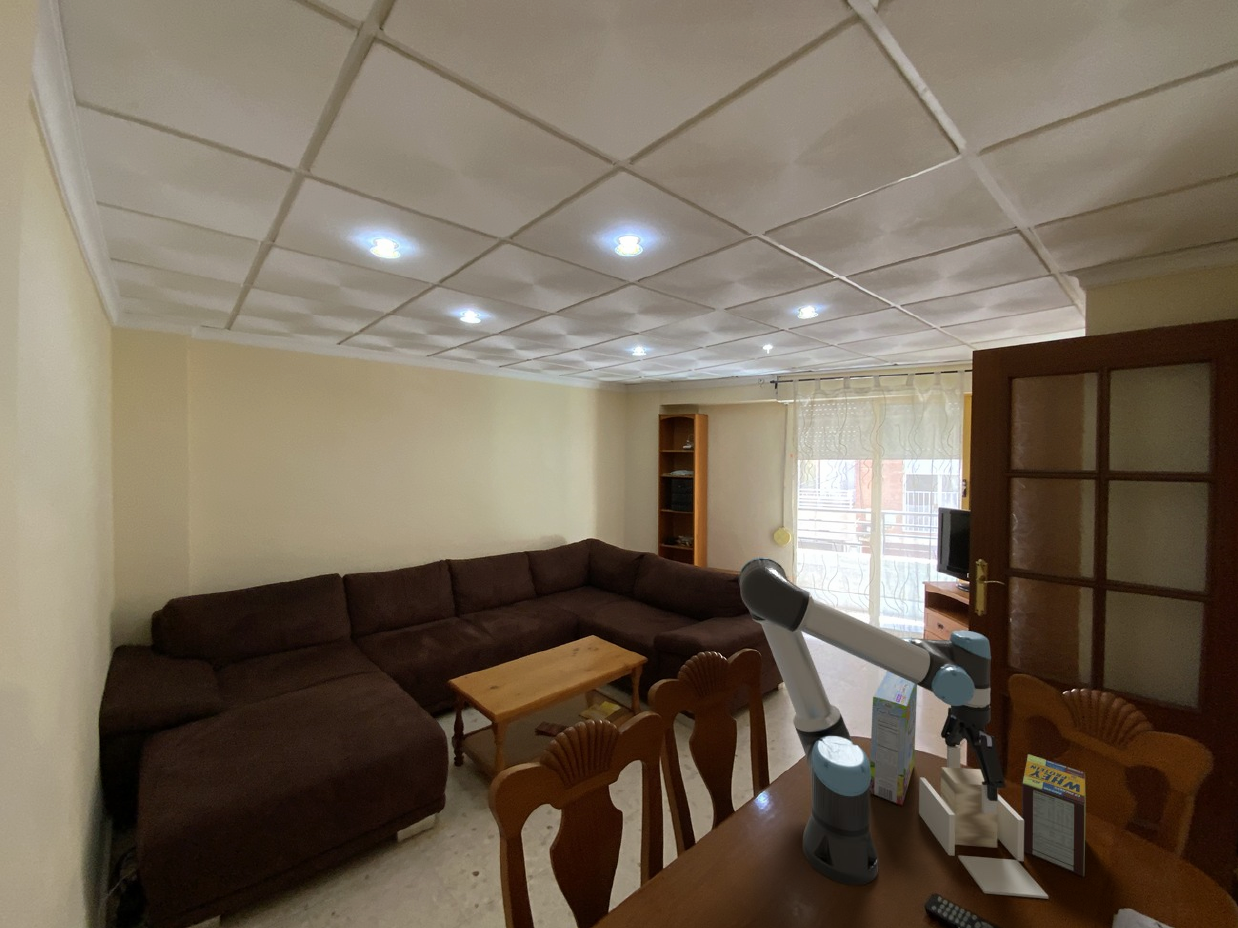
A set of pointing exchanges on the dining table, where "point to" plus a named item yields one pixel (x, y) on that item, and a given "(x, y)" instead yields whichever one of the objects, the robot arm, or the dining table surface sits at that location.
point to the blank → (968, 807)
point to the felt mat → (1002, 877)
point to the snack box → (893, 737)
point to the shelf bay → (944, 821)
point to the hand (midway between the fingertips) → (970, 791)
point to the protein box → (1054, 813)
